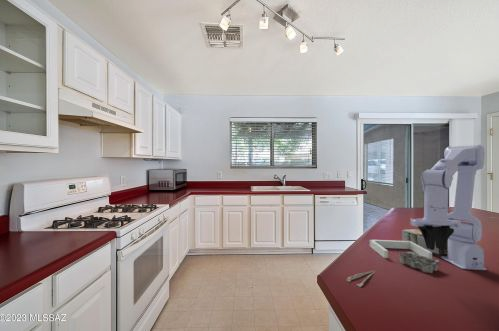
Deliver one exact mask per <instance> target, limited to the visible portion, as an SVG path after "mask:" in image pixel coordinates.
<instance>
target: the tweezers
mask: <svg viewBox="0 0 499 331" xmlns="http://www.w3.org/2000/svg"><path fill="white" fill-rule="evenodd" d="M375 273H376V269H375V270H370V271H367V272H360V273H356V274H354V275H351V276H348V277H347V278H346V281H347V282H348V283H351V281H352V280H356V279H359V278H361V277H363V276H365V275H368V276H366V277H365V278H364V279H363V280H362V281H361V283H356V286H358V287H359V288H361V287H363V286H364V284H365V283H366V281H367V280H368V279H369V278H371V276H373V275H374V274H375Z"/></svg>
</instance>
